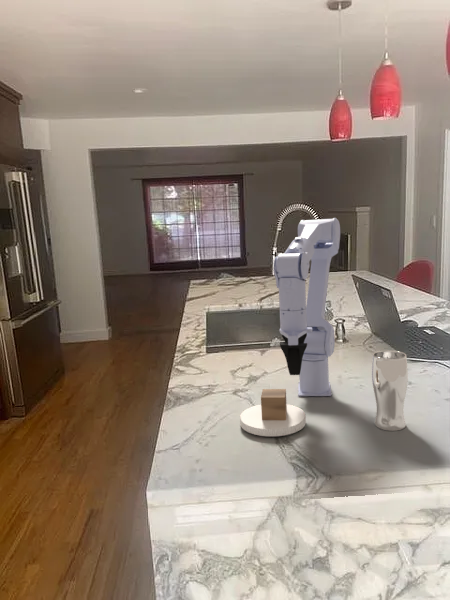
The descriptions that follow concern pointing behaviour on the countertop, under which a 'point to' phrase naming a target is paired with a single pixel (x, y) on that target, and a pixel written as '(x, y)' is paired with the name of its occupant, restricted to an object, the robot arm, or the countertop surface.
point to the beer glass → (389, 388)
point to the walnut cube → (273, 404)
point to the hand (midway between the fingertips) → (295, 369)
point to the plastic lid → (272, 422)
